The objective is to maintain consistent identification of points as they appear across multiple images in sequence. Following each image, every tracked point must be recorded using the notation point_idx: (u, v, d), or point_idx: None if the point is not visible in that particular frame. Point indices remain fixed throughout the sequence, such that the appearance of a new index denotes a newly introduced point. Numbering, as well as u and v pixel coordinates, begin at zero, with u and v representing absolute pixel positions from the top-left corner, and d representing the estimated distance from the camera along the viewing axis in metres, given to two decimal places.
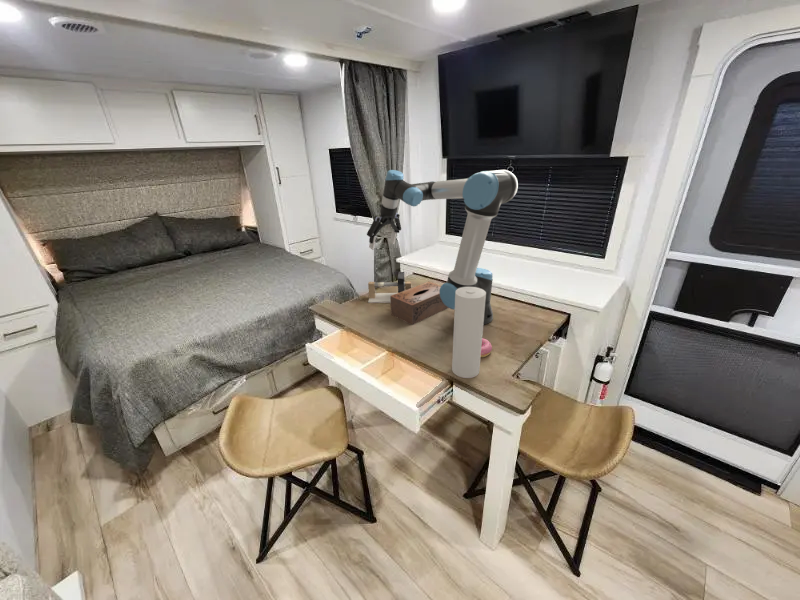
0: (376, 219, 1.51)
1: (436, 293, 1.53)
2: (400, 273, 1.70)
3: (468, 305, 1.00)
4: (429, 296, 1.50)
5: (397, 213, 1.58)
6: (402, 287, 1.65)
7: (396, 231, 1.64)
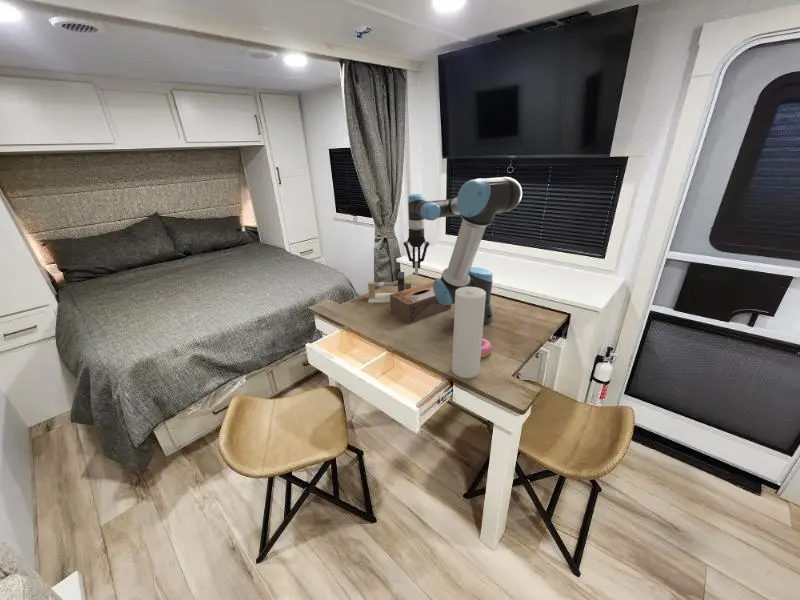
0: (404, 244, 1.61)
1: None
2: (400, 273, 1.70)
3: (468, 305, 1.00)
4: (428, 296, 1.50)
5: (428, 242, 1.60)
6: (402, 287, 1.65)
7: None
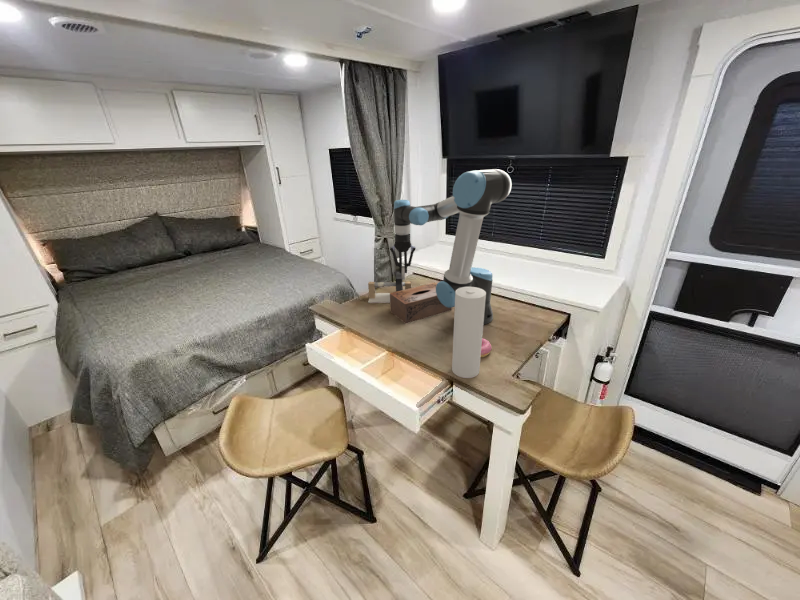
0: None
1: (435, 294, 1.52)
2: (398, 273, 1.70)
3: (468, 305, 1.00)
4: (426, 297, 1.50)
5: (415, 247, 1.62)
6: (400, 287, 1.65)
7: (404, 265, 1.65)
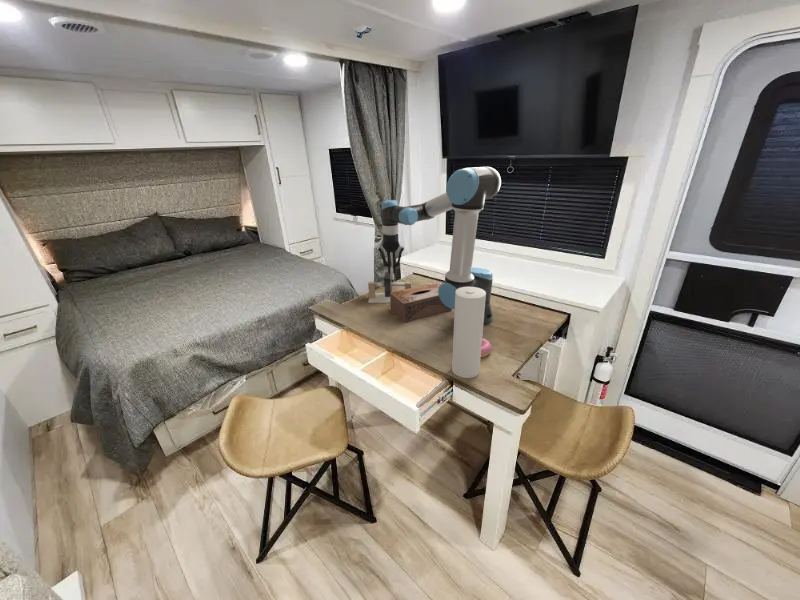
0: None
1: (435, 295, 1.52)
2: (387, 273, 1.71)
3: (468, 305, 1.00)
4: (426, 297, 1.50)
5: (403, 247, 1.62)
6: (389, 287, 1.66)
7: (393, 265, 1.65)
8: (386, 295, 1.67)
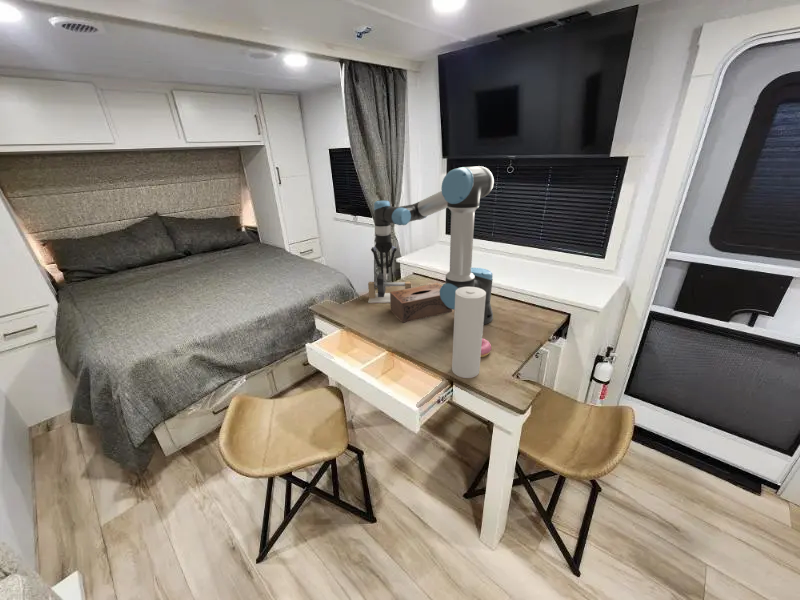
0: None
1: (434, 295, 1.51)
2: (380, 273, 1.71)
3: (468, 305, 1.00)
4: (425, 297, 1.50)
5: (396, 247, 1.62)
6: (382, 287, 1.66)
7: None
8: (379, 295, 1.68)
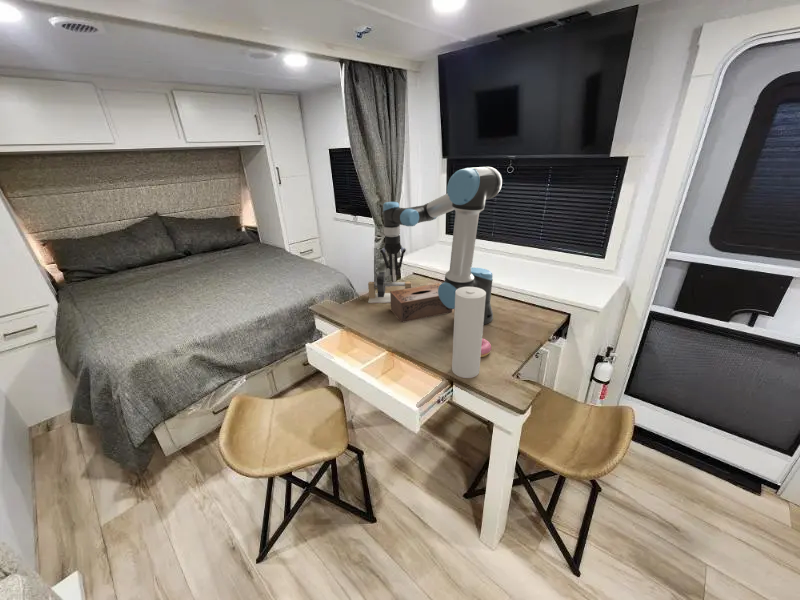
0: None
1: (434, 295, 1.51)
2: (380, 273, 1.71)
3: (468, 305, 1.00)
4: (425, 297, 1.50)
5: (405, 249, 1.62)
6: (381, 287, 1.66)
7: (395, 267, 1.65)
8: (379, 295, 1.68)
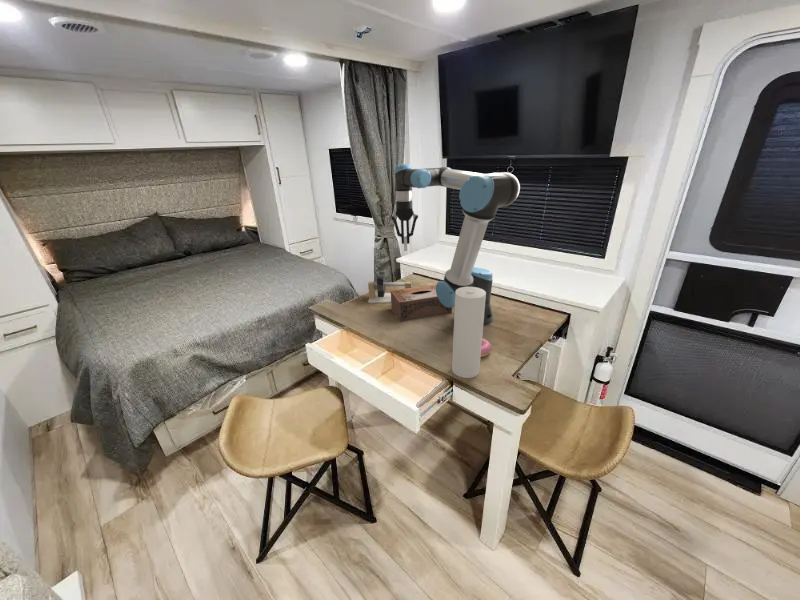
0: (392, 218, 1.55)
1: (434, 296, 1.51)
2: (380, 273, 1.71)
3: (468, 305, 1.00)
4: (424, 297, 1.49)
5: (417, 215, 1.54)
6: (381, 287, 1.66)
7: None
8: (379, 295, 1.68)
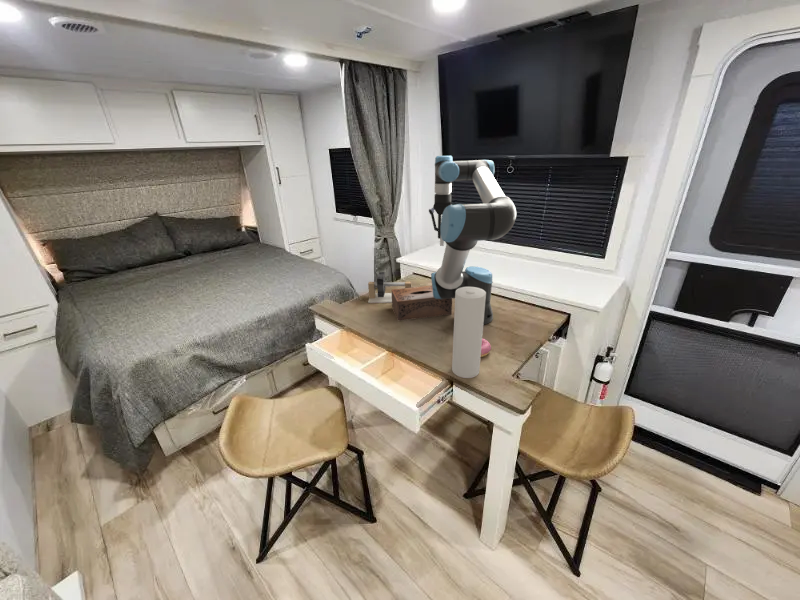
0: (429, 212, 1.50)
1: None
2: (380, 273, 1.71)
3: (468, 305, 1.00)
4: (422, 297, 1.49)
5: None
6: (381, 287, 1.66)
7: None
8: (379, 295, 1.68)
